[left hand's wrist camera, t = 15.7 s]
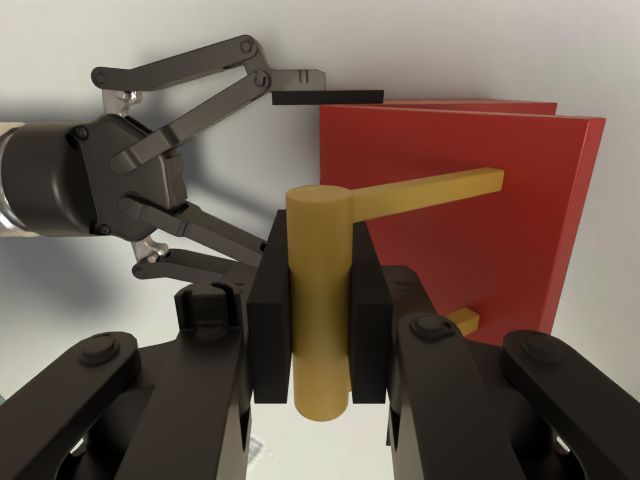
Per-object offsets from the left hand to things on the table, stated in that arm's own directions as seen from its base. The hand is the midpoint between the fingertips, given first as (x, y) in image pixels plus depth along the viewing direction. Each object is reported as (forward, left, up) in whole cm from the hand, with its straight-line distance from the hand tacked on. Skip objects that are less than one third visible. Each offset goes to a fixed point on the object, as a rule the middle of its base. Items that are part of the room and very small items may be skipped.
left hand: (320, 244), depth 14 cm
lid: (-4, -2, -3) cm, 5 cm away
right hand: (-3, -2, -12) cm, 12 cm away
